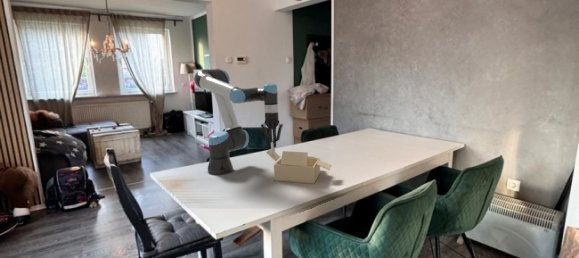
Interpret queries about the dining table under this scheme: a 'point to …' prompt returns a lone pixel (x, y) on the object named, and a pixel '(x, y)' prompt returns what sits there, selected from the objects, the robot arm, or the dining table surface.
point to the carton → (297, 172)
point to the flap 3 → (324, 164)
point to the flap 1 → (273, 155)
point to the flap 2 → (294, 158)
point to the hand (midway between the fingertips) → (273, 152)
